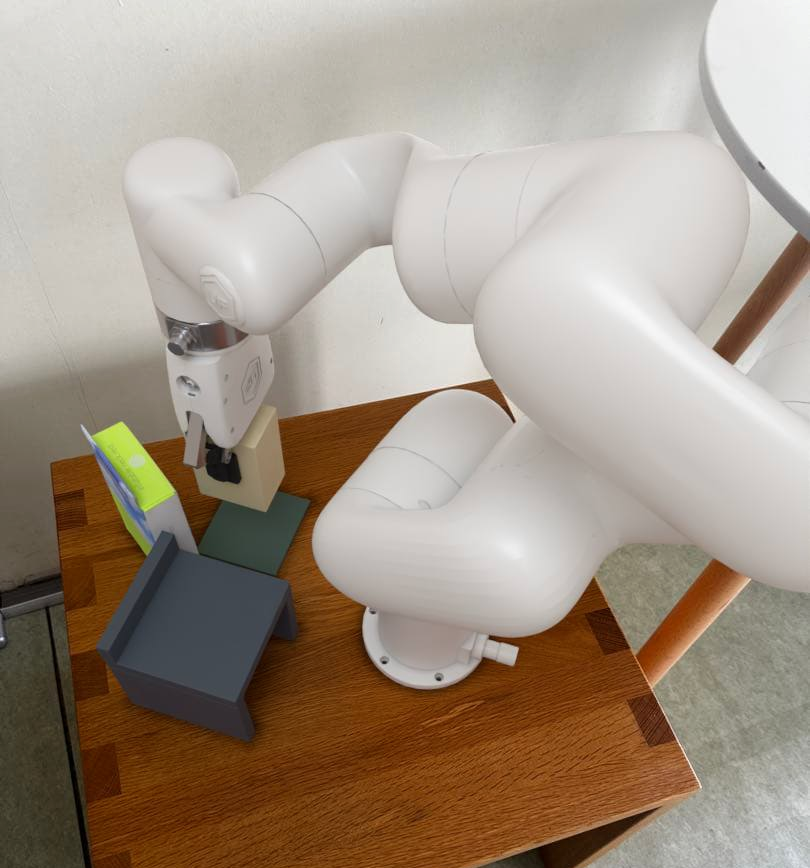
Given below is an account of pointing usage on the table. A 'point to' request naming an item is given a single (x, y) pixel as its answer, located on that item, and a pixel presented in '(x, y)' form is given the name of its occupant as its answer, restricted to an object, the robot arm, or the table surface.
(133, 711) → the table surface
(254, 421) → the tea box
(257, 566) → the mat
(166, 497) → the box
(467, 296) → the robot arm
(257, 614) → the shelf
